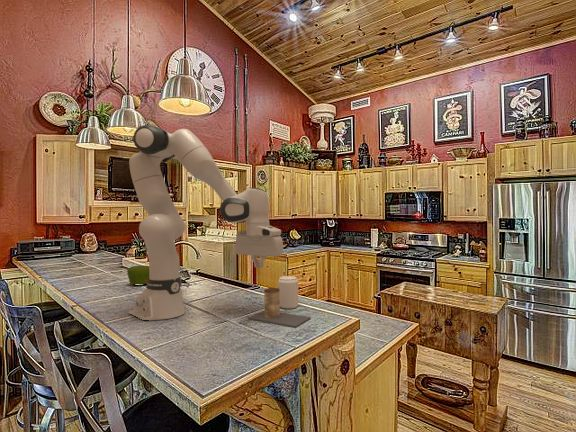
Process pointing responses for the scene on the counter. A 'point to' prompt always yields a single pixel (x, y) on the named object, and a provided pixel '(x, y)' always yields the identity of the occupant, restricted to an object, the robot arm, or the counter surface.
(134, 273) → the green pot
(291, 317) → the rubber mat
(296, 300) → the beverage can
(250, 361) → the counter surface
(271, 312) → the maple block
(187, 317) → the counter surface
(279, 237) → the robot arm
